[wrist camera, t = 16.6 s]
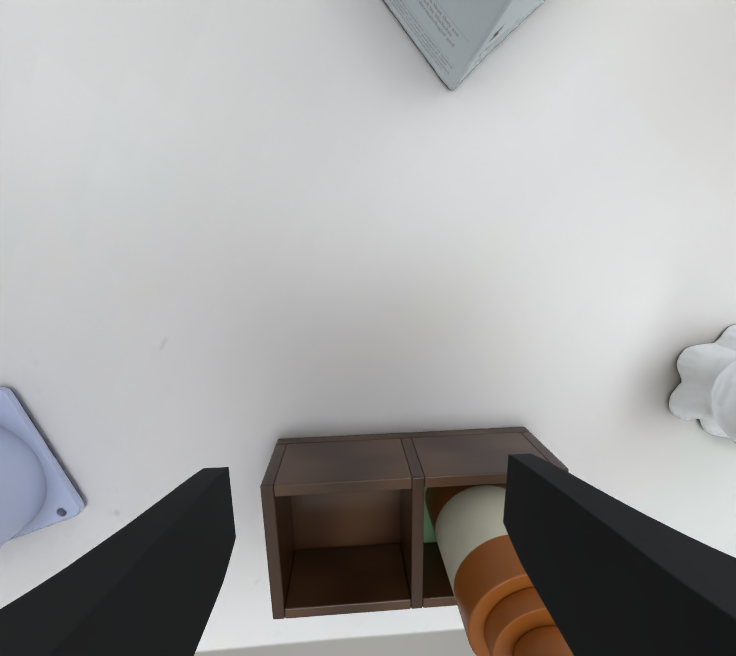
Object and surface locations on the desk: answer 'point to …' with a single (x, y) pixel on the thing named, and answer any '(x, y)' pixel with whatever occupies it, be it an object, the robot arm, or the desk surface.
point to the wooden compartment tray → (371, 515)
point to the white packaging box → (459, 30)
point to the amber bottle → (490, 574)
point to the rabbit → (708, 385)
